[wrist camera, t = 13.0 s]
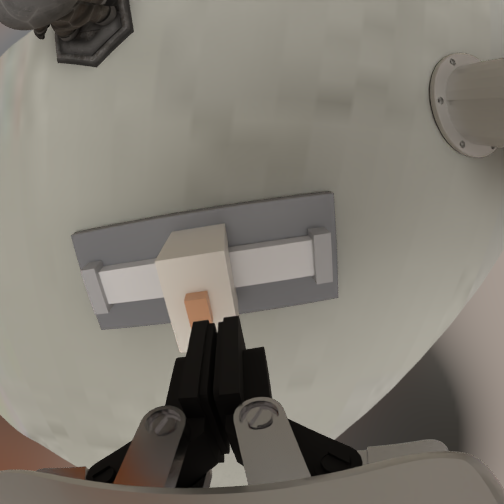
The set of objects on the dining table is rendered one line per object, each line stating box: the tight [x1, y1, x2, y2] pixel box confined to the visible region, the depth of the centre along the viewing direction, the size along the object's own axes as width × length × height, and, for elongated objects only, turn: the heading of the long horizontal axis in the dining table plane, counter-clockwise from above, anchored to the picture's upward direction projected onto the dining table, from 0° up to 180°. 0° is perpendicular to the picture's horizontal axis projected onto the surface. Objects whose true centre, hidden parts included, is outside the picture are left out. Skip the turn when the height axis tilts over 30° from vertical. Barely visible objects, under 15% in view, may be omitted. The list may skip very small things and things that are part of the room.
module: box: [155, 223, 239, 353], centre depth 27 cm, size 5×8×9 cm, turn 8°
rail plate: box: [71, 191, 338, 330], centre depth 30 cm, size 26×11×3 cm, turn 98°
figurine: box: [0, 0, 134, 67], centre depth 16 cm, size 9×10×15 cm
